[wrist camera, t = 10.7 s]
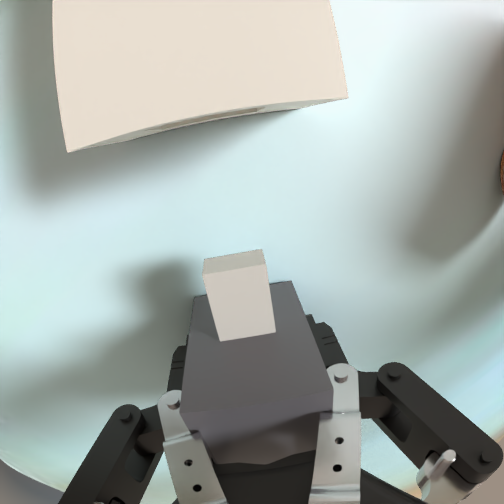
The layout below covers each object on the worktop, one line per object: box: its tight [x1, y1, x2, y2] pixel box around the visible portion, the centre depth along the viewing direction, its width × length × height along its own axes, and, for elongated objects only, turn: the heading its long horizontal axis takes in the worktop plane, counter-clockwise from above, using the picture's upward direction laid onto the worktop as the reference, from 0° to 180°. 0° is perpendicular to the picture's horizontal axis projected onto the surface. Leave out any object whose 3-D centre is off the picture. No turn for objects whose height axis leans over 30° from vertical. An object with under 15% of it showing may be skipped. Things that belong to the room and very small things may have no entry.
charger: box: [179, 249, 334, 465], centre depth 11 cm, size 8×4×6 cm, turn 9°
